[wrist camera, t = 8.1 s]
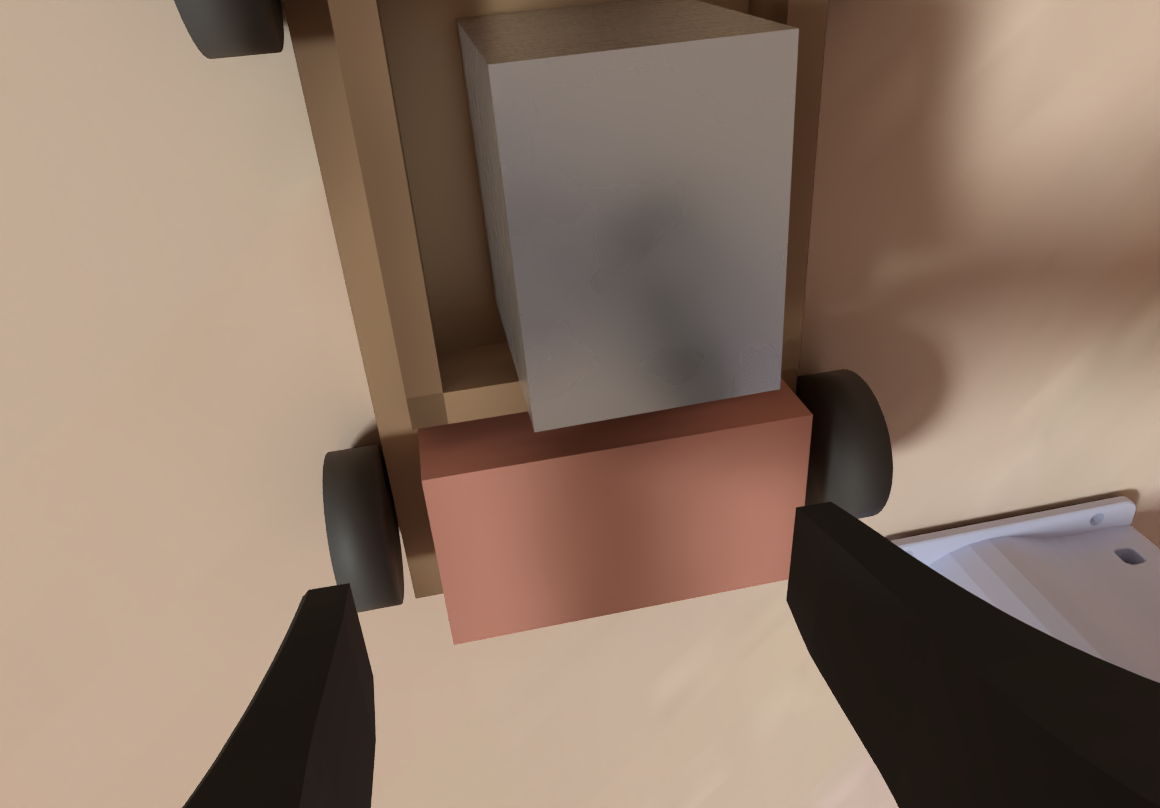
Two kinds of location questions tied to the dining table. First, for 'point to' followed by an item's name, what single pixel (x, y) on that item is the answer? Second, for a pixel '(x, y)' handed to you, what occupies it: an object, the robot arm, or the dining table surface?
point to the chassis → (488, 375)
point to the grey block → (634, 200)
